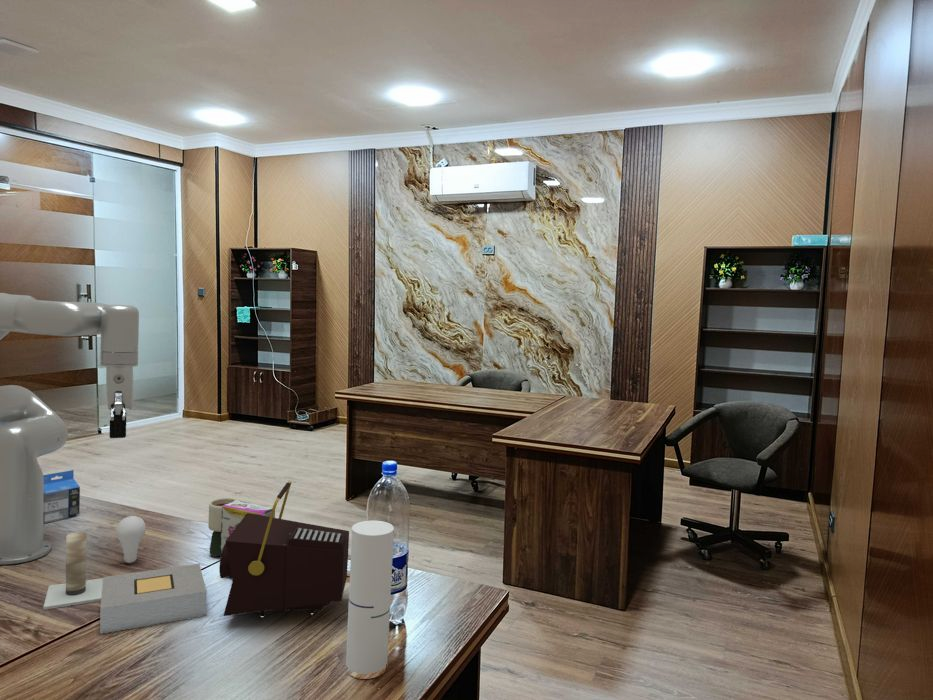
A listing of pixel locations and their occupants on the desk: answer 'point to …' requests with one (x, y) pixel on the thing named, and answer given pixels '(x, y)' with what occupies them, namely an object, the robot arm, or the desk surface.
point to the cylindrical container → (369, 596)
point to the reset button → (153, 584)
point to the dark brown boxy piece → (283, 564)
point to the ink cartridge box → (60, 497)
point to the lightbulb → (130, 536)
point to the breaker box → (151, 599)
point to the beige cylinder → (75, 563)
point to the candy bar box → (239, 516)
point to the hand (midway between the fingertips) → (118, 433)
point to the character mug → (216, 523)
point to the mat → (59, 598)
